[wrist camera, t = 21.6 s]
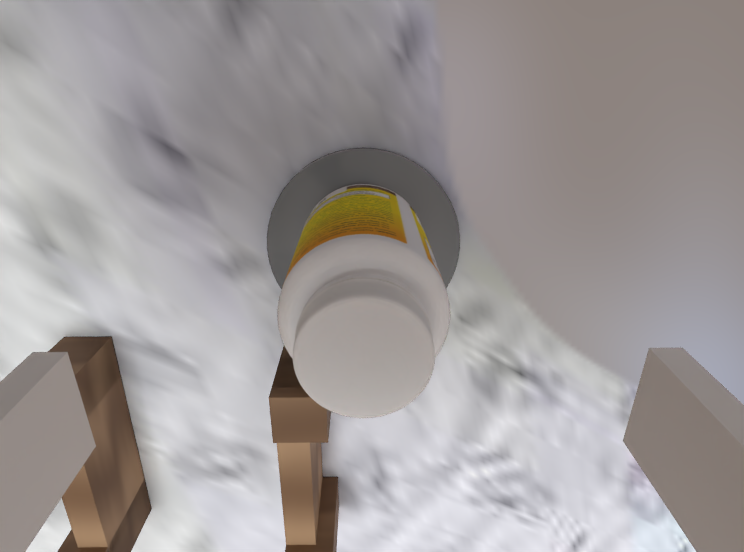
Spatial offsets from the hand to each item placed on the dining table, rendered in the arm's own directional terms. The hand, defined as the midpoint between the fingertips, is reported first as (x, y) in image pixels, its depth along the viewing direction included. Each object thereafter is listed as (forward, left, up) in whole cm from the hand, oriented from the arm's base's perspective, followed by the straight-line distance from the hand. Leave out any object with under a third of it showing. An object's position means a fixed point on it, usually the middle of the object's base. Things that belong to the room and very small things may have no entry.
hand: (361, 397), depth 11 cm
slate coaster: (+1, 0, -13) cm, 13 cm away
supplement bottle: (0, 0, -12) cm, 12 cm away
